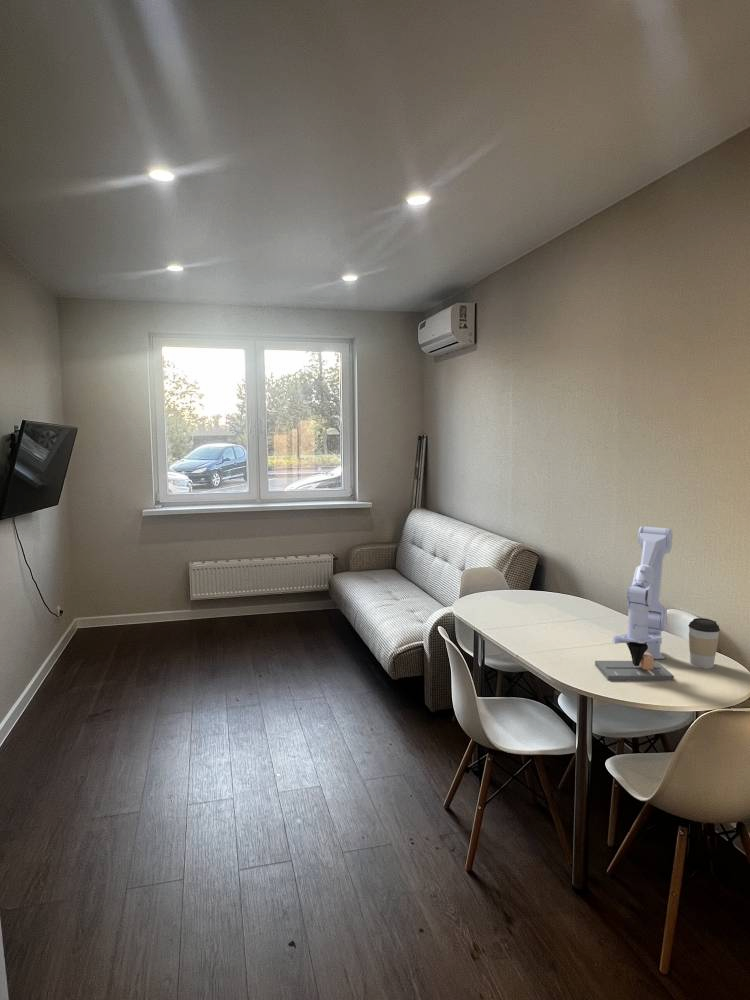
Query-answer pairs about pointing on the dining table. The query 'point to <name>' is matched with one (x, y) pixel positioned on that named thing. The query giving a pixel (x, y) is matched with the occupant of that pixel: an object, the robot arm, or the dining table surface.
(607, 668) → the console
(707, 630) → the coffee cup
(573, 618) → the dining table surface
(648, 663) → the fader tab
